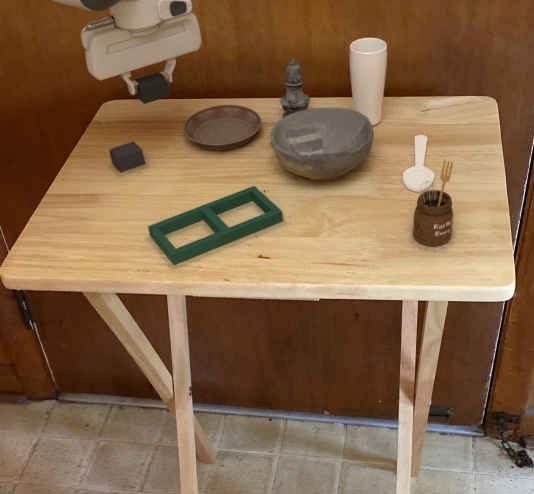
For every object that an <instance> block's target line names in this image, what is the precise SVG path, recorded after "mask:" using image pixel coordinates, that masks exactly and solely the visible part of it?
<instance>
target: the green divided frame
mask: <svg viewBox="0 0 534 494" xmlns="http://www.w3.org/2000/svg"><path fill="white" fill-rule="evenodd" d="M250 202H253V203H254V204H255V205H256V206H258V207H259V208H260V210H262V211H263V212H264V213H262V214H260V215H257V216H254V217H251V218H249V219H247V220H245V221H242V222H240V223H237V224H234V225H232V226H229V225H227V223H225V222H224V220H222V218H221V217H220V216H219V214H222V213H224V212H227V211H230V210H232V209H235V208H238V207H240V206H243V205H245V204H248V203H250ZM201 221H203V222H204V223H205V224H206V225H207V226H208V228H210V229H211V230H212V231H213V232H214V233H211V234H209V235H206V236H204V237H202V238H199V239H197V240H194V241H191V242H189V243H187V244H183V245H181V246H179V247H175V245H173V244H172V242H171V241H170V240H169V239H168V238H167V236H165V235H168V234H171V233H173V232H176V231H178V230H181V229H183V228H186V227H189V226H191V225H194V224H196V223H199V222H201ZM283 221H284V218H283V210H282V209H281V208H280V207H278V206H277V205H276V204H275V203H274V202H273V201H272V200H271V199H270V198H268V197H267V196H266V195H265V194H264V193H263V192H262V191H261V190H259V189H258V187H257V186H255V185H252V186H249V187H247V188H244V189H242V190H239V191H237V192H234V193H232V194H229V195H226V196H224V197H221V198H218V199H215V200H213V201H210V202H208V203H205V204H202V205H200V206H197V207H194V208H192V209H189V210H187V211H184V212H182V213H178V214H176V215H173V216H171V217H169V218H166V219H163V220H161V221H157V222H155V223H152V224H150V225H148V226H147V228H148V233H149V237H150V238H151V239H152V240H153V241H154V243H155V244H156V245H157V246H158V247H159V249H160V250H161V251H162V252H163V253H164V255H165V256H166V257H167V258H168V260H169V261H170V262H171V264H173V265H174V266H176V265H177V264H180V263H183V262H185V261H187V260H189V259H192V258H195V257H198V256H200V255H203V254H205V253H207V252H209V251H212V250H215V249H217V248H220V247H222V246H224V245H228V244H230V243H232V242H235V241H237V240H240V239H243V238H245V237H247V236H249V235H252V234H255V233H257V232H259V231H262V230H265V229H268V228H269V227H271V226H275V225H277V224H279V223H283Z"/></svg>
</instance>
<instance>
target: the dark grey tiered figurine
mask: <svg viewBox="0 0 534 494" xmlns="http://www.w3.org/2000/svg"><path fill="white" fill-rule="evenodd" d="M303 83H304V78H302V66H301V64H300V63H299V62H298V61H295V59H294V58H293V57H292V58H291V59H290V61H289V62H287V64H286V65H285V80H284V84H285V86H286V87H285V88H286V93H285V94H284V95H282V96H281V97H280V99H279V103H280V105H281V106H282V109H283V111H284V113H283V114H282V118H284V117H286V116H288V115H290V114H293V113H296V112H299V111H303V110H307V109H309V108H308V107H309V105H310V102H311V97H310V95H309V94H307V93H305V92H304V91H303Z"/></svg>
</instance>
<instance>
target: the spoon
mask: <svg viewBox="0 0 534 494" xmlns="http://www.w3.org/2000/svg"><path fill="white" fill-rule="evenodd" d="M428 140H429V139H428V136H427V135H424V134H418V135H415V136H414V165H413V166H410V167H409V168H407V169H405V171H403V174H402V183H403V185H404V186H405V187H406V188H407V189H408V190H410V191H412V192H415V193H416V192H417V193H420V188H421V185H422V190H421V192H425V191H427V190H429V189H430V187H432V185H434V184H433V183H435V173H434V171H433V170H431V169H430V168H428V167H426V166H424V165H425V159H426V154H427V147H428V142H429V141H428ZM426 181H427V182H428V181H429V183H430V184H429V183H427V188H426V186H425V185H426ZM431 181H432V183H431ZM424 183H425V184H424ZM428 185H429V187H428ZM424 188H425V189H424Z"/></svg>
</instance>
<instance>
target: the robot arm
mask: <svg viewBox="0 0 534 494" xmlns="http://www.w3.org/2000/svg"><path fill="white" fill-rule="evenodd" d="M46 1H47V2H55V3H58V4H62V5H65V6H70V7H73V8H77V9H83V10H86V11H90V12H105V11H107V10H109V13H110V16H106V17H103V18H100V19H98V20H93V21H90V22H87V23H86V25H85V26H84V27H82V29H81V31H80V33H79V35H80V40H81V46H82V47H83V49H84V51H85V52H84V53H85V62H86V68H87V71H88V73H89V74H90V75H91V76H92V77H93V78H94V79H96V80H98V81H103V80H108V79H111V78H113V77H117V76H119V77H120V78H121V79H123V81H124V82H125V83H126V85H127V89H128V92H129V94H130V95H132V96H135V94H137V93H140V90H139V84H138V83H137V82H136V81H135V79H133V80H134V81H132V80H131V79H130V78H131V77H132V74H131V72H133V71H136V70H139V69H143V68H144V67H145V68H146V67H148V66H152V65H155V64H159V63H161V62H165V66H164V70H163V71H160V72H159V74H160V75H161V76H163V77H164V78H165V79H167V81H168V84H171V83H173V81H174V80H173V73H174V70H175V67H176V64H177V60H176V58H177V57H180V56H183V55H188V54H190V53H193V52H197V51H199V50H200V48H201V46H202V43H203V42H202V41H203V40H202V34H201V28H200V23H199V21H198V18H197V16H196V14H194V13H193V12H192V10H193V2H192V0H46Z"/></svg>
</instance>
